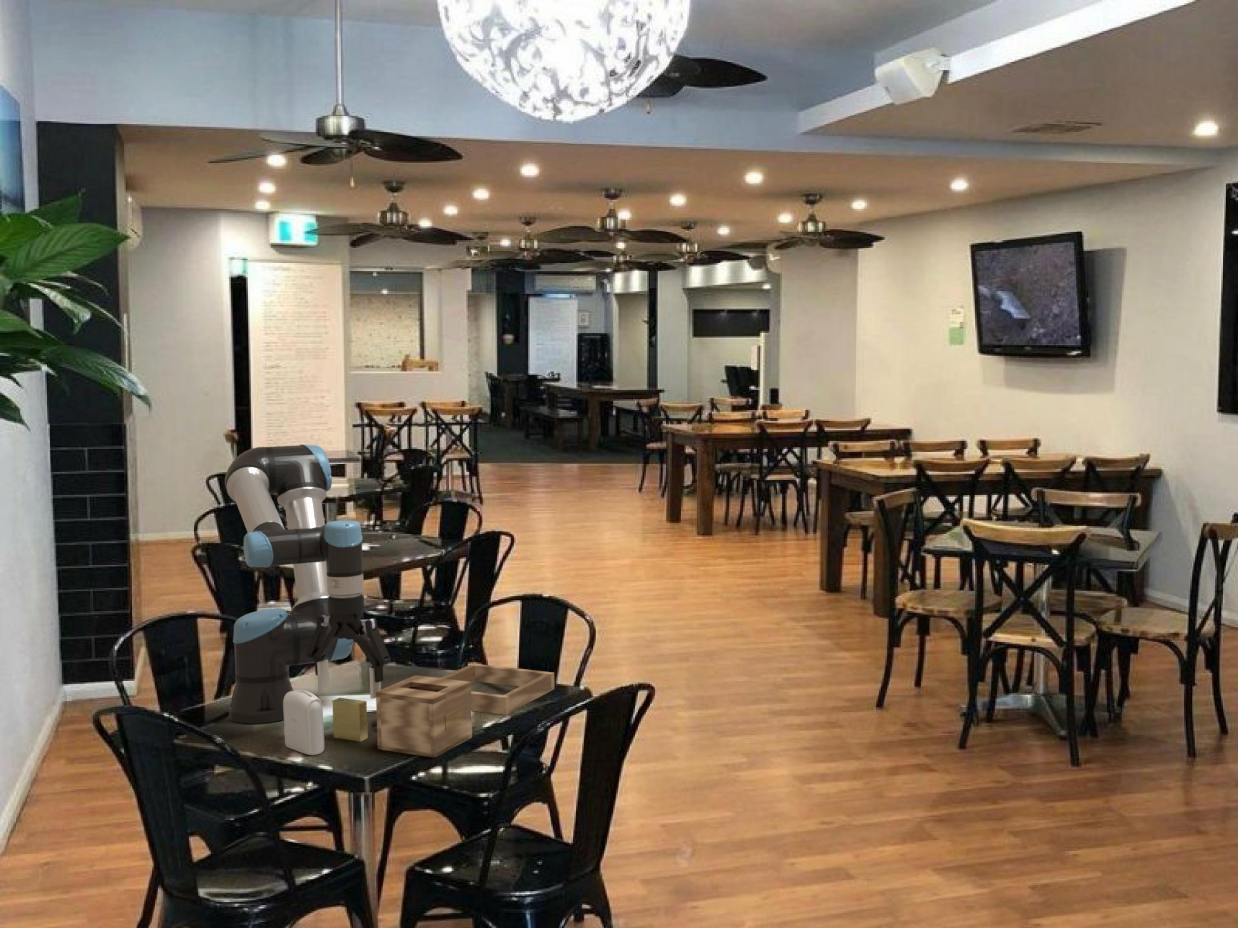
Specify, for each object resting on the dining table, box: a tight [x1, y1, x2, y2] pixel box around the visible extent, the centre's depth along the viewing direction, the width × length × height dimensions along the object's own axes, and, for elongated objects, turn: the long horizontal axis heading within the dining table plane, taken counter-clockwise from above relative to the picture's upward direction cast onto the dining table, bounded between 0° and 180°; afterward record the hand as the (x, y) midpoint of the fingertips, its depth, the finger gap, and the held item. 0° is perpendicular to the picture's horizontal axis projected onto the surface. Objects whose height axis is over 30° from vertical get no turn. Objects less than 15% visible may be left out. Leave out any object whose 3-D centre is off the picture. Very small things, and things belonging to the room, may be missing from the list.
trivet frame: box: [441, 663, 555, 716], centre depth 283 cm, size 23×23×4 cm
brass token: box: [331, 697, 369, 742], centre depth 253 cm, size 7×2×8 cm, turn 65°
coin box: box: [375, 674, 473, 759], centre depth 248 cm, size 14×14×12 cm
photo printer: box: [283, 689, 325, 756], centre depth 245 cm, size 10×4×12 cm, turn 47°
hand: (349, 693), depth 252 cm, fingers open, 13 cm apart
